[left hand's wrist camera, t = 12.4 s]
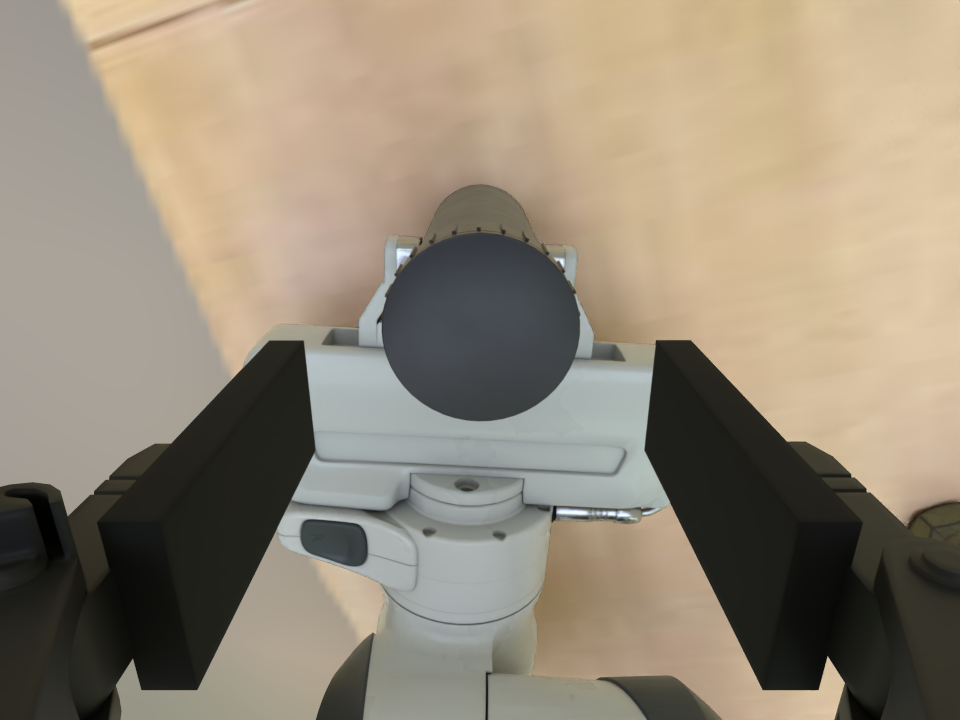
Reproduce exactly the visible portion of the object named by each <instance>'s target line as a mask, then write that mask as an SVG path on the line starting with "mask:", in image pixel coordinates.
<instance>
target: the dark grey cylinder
mask: <svg viewBox="0 0 960 720" xmlns="http://www.w3.org/2000/svg"><path fill="white" fill-rule="evenodd" d="M477 221H481V223H488V224H497V225H500V224H501V223H504V224H505V226H506V227H509V228H512V229H515V230H517V231H520V232H523V231H526V232H527V234H528V236H529V237H531V238H532V239H534V240H535V241H537V242H538V240H537V238H536V236H535V234H534V232H533V230H532V227H531V225H530V223H529V221H528V219H527V217H526V215H525V213H524V211H523V209H522V208H521V206H520V205H519V203H518V202H517V201H516V200H515V199H514V198H513V197H512V196H511V195H509V194H508V193H507V192H505V191H503V190H501V189H499V188H496V187H493V186H488V185H472V186H467V187H464V188H461V189H459V190H457V191H455V192H454V193H452V194H451V195H450V196H448V197H447V198H446V199H445V200H444V201H443V203H442V204H441V205H440V207H439V208H438V210H437V212H436V214H435V216H434V218H433V220H432V222H431V224H430V227H429V229H428V231H427V233H426V235H425V238H424V240H423V242H425V241H426V240H428V239H429V238H430V237H431V234H432V233H434V232H435V234H438V233H440V232H442V231H444V230H447V229H450V228H453V224H457V226H460V225H465V224H474V223H477ZM423 242H422V243H423ZM538 243H539V242H538Z"/></svg>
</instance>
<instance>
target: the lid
mask: <svg viewBox="0 0 960 720" xmlns="http://www.w3.org/2000/svg"><path fill="white" fill-rule="evenodd" d="M565 272H566V271H565V270H564V268H563V266H562V264H561V263H560V261H559V260H558V261H557V262H556V260H555V259H554V258H553V257H552V255H551V254H550V253H549V251H548V249H547V247H546V245H545V244H544V243H543V244H542V245H541V244H539V243H538V242H537V241H535V240H534V239H532V238H531V237H529V236H528V234H527V232H526V231H523V232H520V231H517V230H515V229H512V228H509V227H506V226H505V224H504V223H501V224H500V225H497V224H488V223H481V221H477V223H474V224H465V225H460V226H457V224H453V228H450V229H447V230H444V231H442V232H440V233H438V234H435V232H434V233H432V234H431V237H430V238H429V239H428V240H426V241H425V242H423V243H422V244H421V245H420V246H419V247H418V248H417V247H416V246H415V247H414V248H413V249H412V251H411V253H410V255H409V257H408V258H407V259H406V261H405V263H404V264H403V265H402V264H400V265H399V267H398V269H397V270H396V272H395V274H394V276H396V278H395V280H394V282H393V284H390V286H389V288H388V290H387V292H386V294H385V297H386V301H385V304H384V308H383V314H382V316H381V320H382V329H381V331H382V340H383V346H384V350H385V354H386V357H387V359H388V362H389V364H390V366H391V368H392V370H393V372H394V374H395V375H396V377H397V378H398V380H399V381H400V382H401V384H402V385H403V386H404V387H405V388H406V390H407V391H408V392H409V393H410V394H411V395H412V396H414V397H415V398H416V399H417V400H419V401H420V402H421V403H423V404H424V405H426V406H427V407H429V408H431V409H432V410H435V411H437V412H439V413H441V414H443V415H446V416H449V417H453V418H456V419H461V420H466V421H494V420H500V419H505V418H509V417H512V416H515V415H518V414H520V413H523V412H525V411H527V410H529V409H531V408H532V407H534V406H536V405H538V404H539V403H540V402H542V401H543V400H544V399H546V398H547V397H548V396H549V395H550V394H551V393H552V392H553V391H554V390H555V389H556V388H557V387H558V386H559V384H560V383H561V382H562V381H563V379H564V378H565V376H566V375H567V373H568V371H569V370H570V368H571V365H572V363H573V361H574V359H575V355H576V352H577V349H578V344H579V338H580V317H579V316H581V314H580V311H579V309H578V305H577V302H576V298H575V295H574V294H576V291H575V289H574V287H573V286H572V284H571V282H570V280H567V279H566V277H565V275H564V273H565Z"/></svg>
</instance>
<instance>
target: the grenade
mask: <svg viewBox="0 0 960 720" xmlns="http://www.w3.org/2000/svg"><path fill="white" fill-rule="evenodd" d="M909 530H910V531H911V532H912V533H913V534H914V535H915V536H916V537H924V538H933V539H936V540H940V541H943V542H947V543H950V544H954V545H957V546H959V547H960V502H958V503H951V504H945V505H941V506H937V507H935V508H932V509H929V510H927V511H925V512H923V513H922V514H920V515H918V516H917V518H916V519H915V520H914V521H913V523H912V524H911V526H910V528H909Z"/></svg>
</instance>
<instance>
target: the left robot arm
mask: <svg viewBox="0 0 960 720" xmlns="http://www.w3.org/2000/svg"><path fill="white" fill-rule="evenodd" d="M315 451H316V447H315V438H314V429H313V420H312V410H311V401H310V392H309V383H308V373H307V364H306V355H305V346H304V340H269V341H268V342H267V343H266V344H265V345H264V346H263V347H262V349H261V350H260V351H259V352H258V353H257V354H256V355H255V356H254V357H253V358H252V359H251V360H250V361H249V362H248V363H247V364H246V365H245V366H244V368H243V369H242V370H241V371H240V372H239V373H238V374H237V375H236V376H235V377H234V378H233V379H232V380H231V381H230V382H229V383H228V384H227V385H226V386H225V388H224V389H223V390H222V391H221V392H220V393H219V394H218V395H217V396H216V397H215V398H214V399H213V400H212V401H211V402H210V403H209V404H208V405H207V407H206V408H205V409H204V410H203V411H202V412H201V413H200V414H199V415H198V416H197V417H196V418H195V419H194V420H193V421H192V422H191V423H190V424H189V426H188V427H187V428H186V429H185V430H184V431H183V432H182V433H181V434H180V435H179V436H178V437H177V438H176V439H175V440H174V441H173V442H172V443H171V444H154V445H152V446H150V447H148V448H146V449H145V450H143V451H141V452H139V453H137V454H135V455H134V456H132V457H130V458H128V459H127V460H126V461H125V462H124V463H123V464H122V465H121V466H120V467H119V468H118V469H117V470H116V471H114V472H113V473H112V474H111V475H110V476H109V477H110V478H109V480H105V481H104V482H103V483H102V484H101V485H100V486H99V487H98V488H97V489H96V490H95V491H94V495H90V496H89V497H88V498H87V499H86V500H85V501H83V502H82V503H81V504H80V505H79V506H78V507H77V508H76V509H75V510H74V511H73V512H72V513H71V514H70V515H69V516H67V513H66V509H65V506H64V502H63V499H62V495H61V492H60V490H58V489H56V488H55V487H53V486H52V485H49V484H41V483H33V482H32V483H22V484H11V485H7V486H3V487H0V720H120V718H121V706H120V699H119V695H118V692H117V688H116V684H117V682H118V681H119V679H120V678H121V676H122V674H123V673H124V671H125V670H126V668H127V667H128V665H129V664H130V662H131V660H132V659H133V660H134V664H135V667H136V671H137V675H138V679H139V682H140V686H141V690H197V689H198V687H199V685H200V683H201V681H202V679H203V677H204V675H205V673H206V671H207V669H208V667H209V665H210V663H211V661H212V659H213V657H214V655H215V653H216V651H217V649H218V647H219V645H220V643H221V641H222V639H223V637H224V635H225V633H226V631H227V629H228V627H229V625H230V623H231V621H232V619H233V617H234V614H235V612H236V611H237V609H238V606H239V604H240V602H241V600H242V598H243V596H244V594H245V592H246V590H247V588H248V586H249V584H250V582H251V580H252V578H253V576H254V574H255V572H256V570H257V568H258V566H259V564H260V562H261V560H262V558H263V556H264V554H265V552H266V550H267V548H268V546H269V544H270V542H271V540H272V538H273V536H274V534H275V532H276V530H277V528H278V526H279V524H280V522H281V520H282V518H283V516H284V514H285V511H286V509H287V507H288V505H289V503H290V501H291V499H292V497H293V495H294V493H295V491H296V489H297V487H298V485H299V483H300V481H301V479H302V477H303V475H304V473H305V471H306V469H307V467H308V465H309V463H310V461H311V459H312V457H313V455H314V453H315ZM644 451H645V453H646V455H647V457H648V459H649V461H650V463H651V465H652V467H653V469H654V471H655V473H656V475H657V477H658V479H659V481H660V483H661V485H662V487H663V489H664V491H665V493H666V495H667V497H668V499H669V501H670V503H671V505H672V507H673V509H674V511H675V514H676V516H677V518H678V520H679V522H680V524H681V526H682V528H683V530H684V532H685V534H686V536H687V538H688V540H689V542H690V544H691V546H692V548H693V550H694V552H695V554H696V556H697V558H698V560H699V562H700V564H701V566H702V568H703V570H704V572H705V574H706V576H707V578H708V580H709V582H710V584H711V586H712V588H713V590H714V592H715V594H716V596H717V598H718V600H719V602H720V605H721V607H722V609H723V611H724V613H725V615H726V617H727V619H728V621H729V623H730V625H731V627H732V629H733V631H734V633H735V635H736V637H737V639H738V641H739V643H740V645H741V647H742V649H743V651H744V653H745V655H746V657H747V659H748V661H749V663H750V665H751V667H752V669H753V671H754V673H755V675H756V677H757V679H758V681H759V683H760V685H761V687H762V689H763V690H819V686H820V682H821V679H822V675H823V671H824V667H825V664H826V660H827V656H828V657H829V659H830V660H831V662H832V663H833V665H834V666H835V668H836V669H837V671H838V673H839V674H840V676H841V677H842V679H843V680H844V682H845V685H844V688H843V692H842V695H841V699H840V702H839V706H838V709H837V713H836V716H835V720H960V547H959V546H957V545H954V544H950V543H947V542H943V541H940V540H936V539H933V538H924V537H916V536H915V535H914V534H913V533H912V532H911V531H910V530H909V529H908V528H907V527H906V526H905V525H904V524H903V523H902V522H901V521H899V520H898V519H897V518H896V517H895V516H894V515H893V514H892V513H891V512H890V511H889V510H888V509H887V508H886V507H885V506H884V505H883V504H882V503H881V502H880V501H879V500H878V499H877V498H876V497H874V496H873V495H872V494H871V493H867V491H866V488H865V487H864V486H863V485H862V484H861V483H860V482H859V481H858V480H857V479H856V478H851V474H850V473H849V472H848V471H847V470H846V469H845V468H844V467H843V466H842V465H841V464H840V463H839V462H838V461H837V460H836V459H835V458H834V457H833V456H831V455H829V454H827V453H825V452H823V451H822V450H820V449H818V448H816V447H814V446H812V445H811V444H809V443H807V442H787V441H786V440H785V439H784V438H783V437H782V436H781V435H780V434H779V433H778V432H777V431H776V430H775V429H774V428H773V427H772V425H771V424H770V423H769V422H768V421H767V420H766V419H765V418H764V417H763V416H762V415H761V414H760V413H759V412H758V411H757V410H756V409H755V408H754V407H753V405H752V404H751V403H750V402H749V401H748V400H747V399H746V398H745V397H744V396H743V395H742V394H741V393H740V392H739V391H738V390H737V389H736V388H735V386H734V385H733V384H732V383H731V382H730V381H729V380H728V379H727V378H726V377H725V376H724V375H723V374H722V373H721V372H720V371H719V370H718V369H717V368H716V366H715V365H714V364H713V363H712V362H711V361H710V360H709V359H708V358H707V357H706V356H705V355H704V354H703V353H702V352H701V351H700V350H699V349H698V347H697V346H696V345H695V344H694V343H693V342H692V341H691V340H656V346H655V355H654V364H653V373H652V383H651V392H650V401H649V410H648V420H647V429H646V438H645V447H644Z"/></svg>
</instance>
